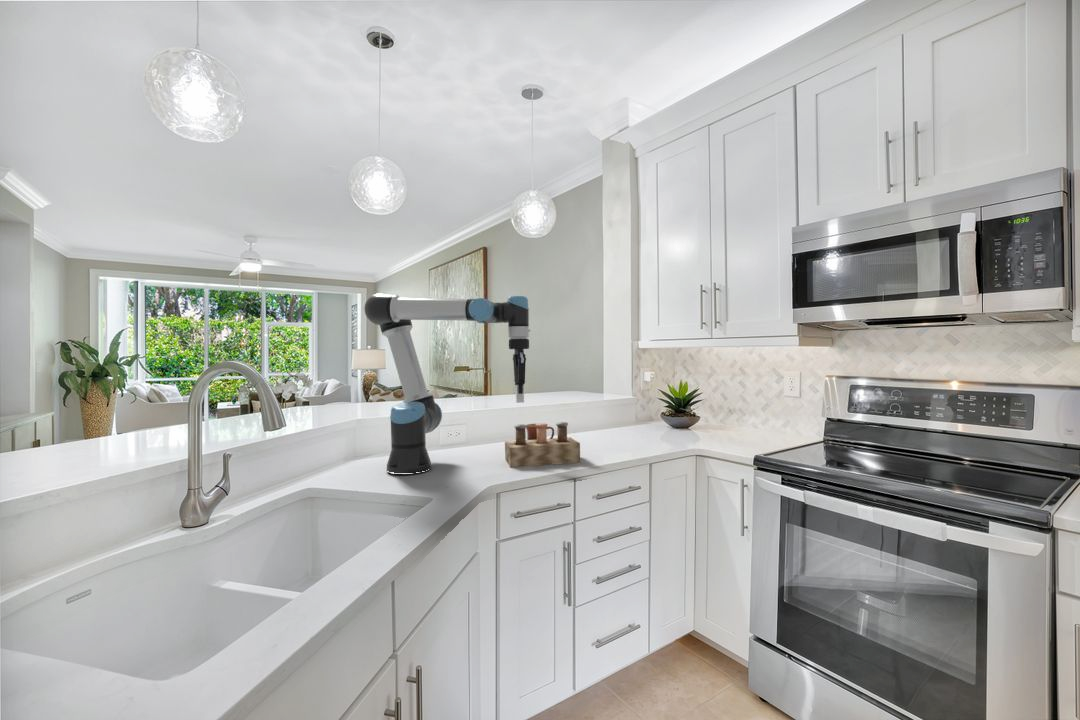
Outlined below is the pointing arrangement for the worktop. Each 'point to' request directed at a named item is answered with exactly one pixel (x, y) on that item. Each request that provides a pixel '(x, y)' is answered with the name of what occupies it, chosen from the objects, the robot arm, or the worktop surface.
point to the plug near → (520, 434)
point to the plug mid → (541, 433)
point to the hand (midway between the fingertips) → (520, 402)
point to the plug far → (562, 431)
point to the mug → (535, 431)
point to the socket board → (542, 452)
